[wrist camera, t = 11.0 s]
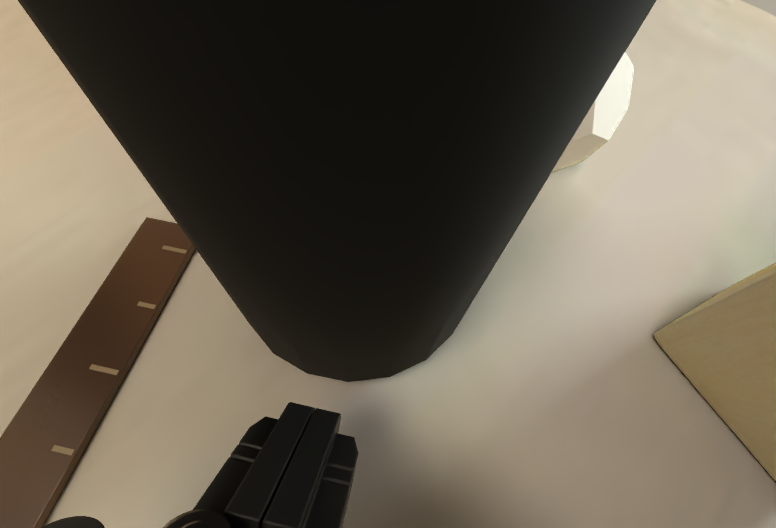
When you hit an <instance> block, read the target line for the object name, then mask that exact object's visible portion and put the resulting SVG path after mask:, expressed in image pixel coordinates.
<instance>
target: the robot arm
mask: <svg viewBox="0 0 776 528" xmlns="http://www.w3.org/2000/svg"><path fill="white" fill-rule="evenodd" d="M340 420H341V414H339V413H335V412H330V411H326V410H322V409H318V408H316V409H315V408H313V407H309V406H304V405H300V404H296V403H291V402H290V403H288V405H287V406H286V408H285V410H284V411H283V413H282V415H281V416H280V418H279V420H278V419H274V418H269V417H264V418H263V419H261V420H260V421H258V422H257V423H255V424H254V425H252V426H251V427H250V428H249V429H248V431H247V432H246V434H245V435H244V436H243V438H242V439H241V441H240V443H239V445H237V447H236V448H235V450H234V451H233V452H232V454H231V457H230V458H228V460H227V461H226V463H225V464H224V465H223V467H222V468H221V470H220V471H219V473H218V474H217V476H216V477H215V479H214V480H213V481H212V483H211V484H210V486H209V487H208V489H207V490H206V492H205V493H204V495H203V496H202V497H201V499H200V500H199V502H198V503H197V505H196V506H195V507H194V509H193V510H192V511H189V512H186V513H183V514H181V515H179V516H177V517H176V518H174V519H173V520H171V521H170V522H169V523H167V524H166V525H165V526H164V527H163V528H342V526H343V521H344V517H345V513H346V509H347V505H348V500H349V496H350V491H351V486H352V481H353V476H354V471H355V467H356V462H357V457H358V450H357V446H356V442H355V438H354V437H350V436H346V435H342V434H338V431H339V426H340ZM41 528H105V527H104V525H103V524H102V523H101V522H100V521H98V520H97V519H95V518H91V517H86V516H75V517H69V518H65V519H61V520H58V521H55V522H52V523H50V524H48V525H45V526H43V527H41Z"/></svg>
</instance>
